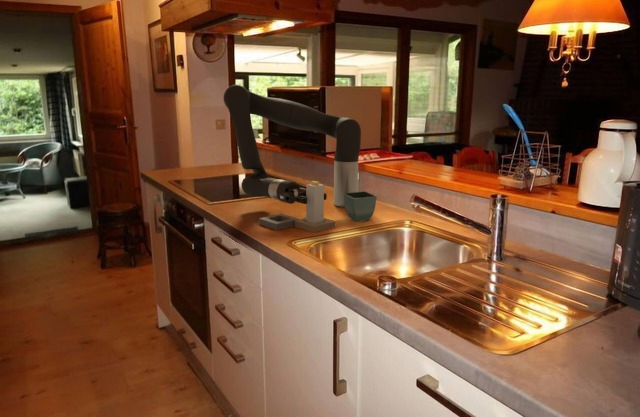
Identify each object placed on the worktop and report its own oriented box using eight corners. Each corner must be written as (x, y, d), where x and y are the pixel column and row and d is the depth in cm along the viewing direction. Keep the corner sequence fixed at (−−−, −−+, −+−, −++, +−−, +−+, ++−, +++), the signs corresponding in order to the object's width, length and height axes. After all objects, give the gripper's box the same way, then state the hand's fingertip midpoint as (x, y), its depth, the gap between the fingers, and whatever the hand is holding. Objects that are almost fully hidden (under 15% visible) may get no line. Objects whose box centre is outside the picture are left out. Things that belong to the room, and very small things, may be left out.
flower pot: (353, 224, 162) (353, 198, 159) (342, 218, 169) (342, 193, 167) (376, 222, 165) (377, 196, 163) (364, 215, 173) (365, 191, 170)
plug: (315, 224, 161) (315, 180, 158) (323, 227, 158) (323, 181, 155) (306, 226, 159) (306, 181, 155) (314, 229, 156) (314, 183, 152)
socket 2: (315, 221, 165) (315, 215, 165) (335, 227, 158) (335, 221, 158) (294, 226, 159) (294, 220, 158) (314, 232, 152) (314, 226, 152)
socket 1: (281, 219, 167) (281, 213, 167) (299, 224, 161) (299, 218, 160) (258, 224, 161) (258, 218, 161) (276, 230, 154) (276, 224, 154)
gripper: (267, 183, 162) (299, 190, 150) (299, 177, 171) (332, 184, 160) (268, 204, 164) (299, 213, 152) (299, 198, 173) (332, 206, 162)
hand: (316, 198), depth 156 cm, fingers open, 8 cm apart
